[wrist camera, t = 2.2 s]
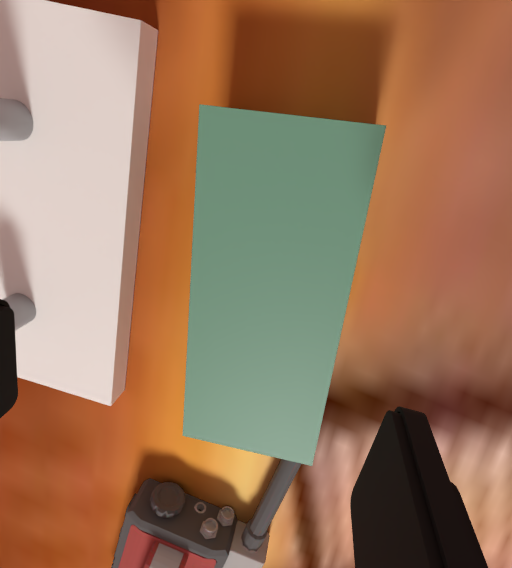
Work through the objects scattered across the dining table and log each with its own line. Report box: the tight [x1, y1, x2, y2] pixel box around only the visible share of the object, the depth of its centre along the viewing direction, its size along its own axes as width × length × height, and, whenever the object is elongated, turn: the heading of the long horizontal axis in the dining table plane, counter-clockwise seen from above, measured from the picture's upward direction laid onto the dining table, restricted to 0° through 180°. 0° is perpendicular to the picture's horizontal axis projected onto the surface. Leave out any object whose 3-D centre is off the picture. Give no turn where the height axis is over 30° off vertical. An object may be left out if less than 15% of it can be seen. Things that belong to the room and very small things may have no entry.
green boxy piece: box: [183, 105, 386, 466], centre depth 17 cm, size 6×14×4 cm, turn 174°
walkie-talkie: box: [112, 459, 301, 568], centre depth 24 cm, size 9×4×20 cm
